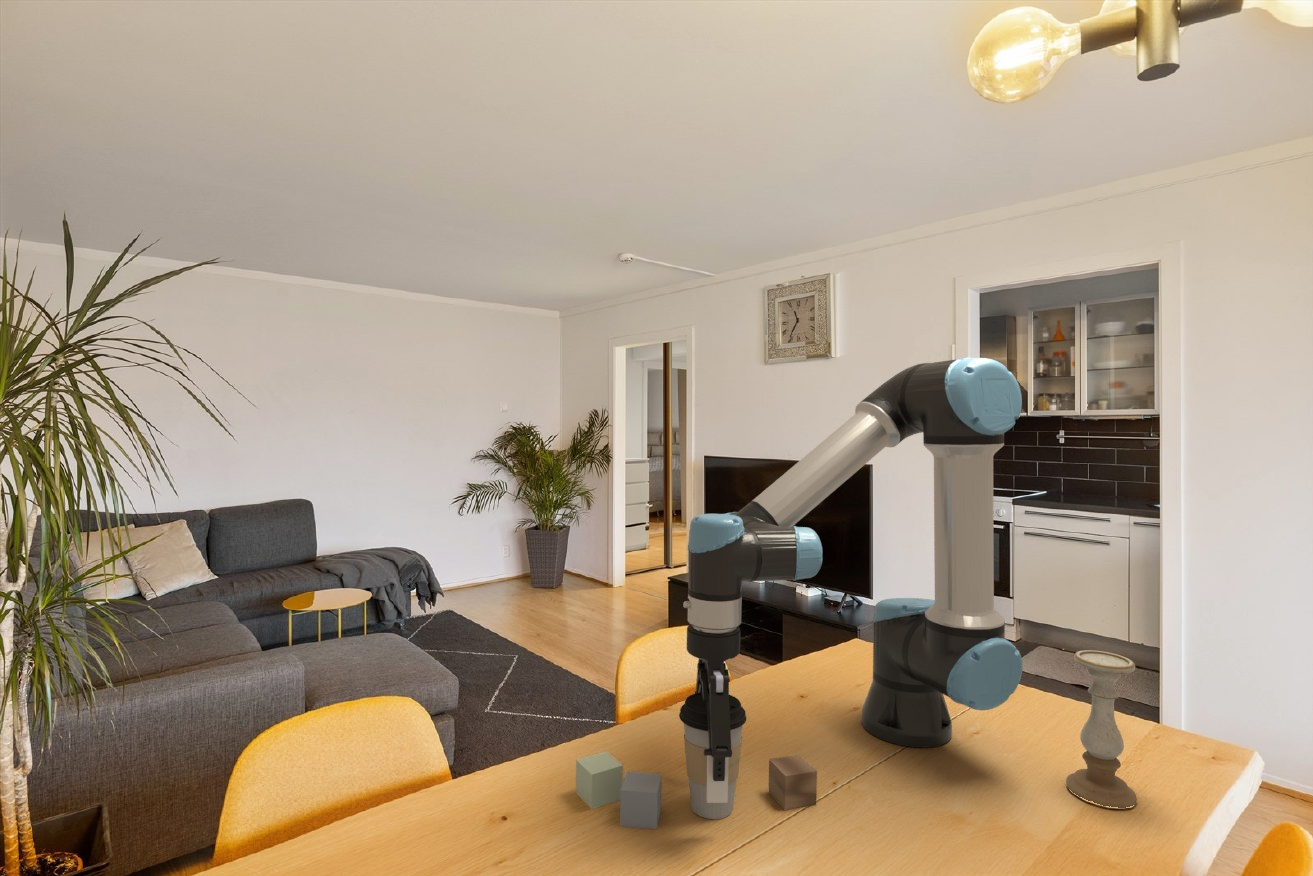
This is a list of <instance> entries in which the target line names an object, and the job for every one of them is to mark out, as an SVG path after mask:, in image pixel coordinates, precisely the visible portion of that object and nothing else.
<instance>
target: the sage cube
mask: <svg viewBox="0 0 1313 876" xmlns="http://www.w3.org/2000/svg"><path fill="white" fill-rule="evenodd" d="M623 773H624V764H622V763H621V762H620V761H619V760H618V759H617V758H615V757H614V756H613V755H612V754H611V753H609V752H608V751H607V750H605V751H601V752H599V753H595V754H592V755H588V756H584V757H581V758H577V759H575V793H576V795H577V796H578V798H580V800H582V801H583V802H584V803H585V804H586V805H587V807H589V808H590V809H591V810H593V809H597V808H599V807H604V806H606V805H609V804H612V803H616V802H619V801H620V790H621V787H622V784H623V781H624V777H623Z"/></svg>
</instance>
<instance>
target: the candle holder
mask: <svg viewBox="0 0 1313 876" xmlns="http://www.w3.org/2000/svg"><path fill="white" fill-rule="evenodd" d="M1073 660H1074V662H1075V663H1076V664H1078V665H1079V666H1081V667H1084V668H1086V672H1087V674H1088V675H1089V676H1090V677H1091V681H1092V683H1091V685H1090V686H1089V688H1088V689H1087V692H1088V694H1089V695H1091V709H1090V714H1089V716H1088V719H1087V720H1086V722H1085V724H1084V726H1083V727H1082V729H1081V731H1080V733H1079V735H1080V736H1079V737H1080V742H1081V745H1082V746H1083V747H1084V749H1085V750H1086V751H1084V752H1083V753H1082V754H1081V755H1082V759H1083V760H1084V761H1085V764H1086V767H1087V768H1081V769H1078V770H1076V771H1075V772H1072V773H1070V774H1068V775H1067V777H1066V779H1065V785H1067V786H1066V788H1067V787H1068V788H1069V789H1070V790H1071V791H1072V792H1073V793H1075V794H1076V795H1078V796H1079V797H1082V798H1084V799H1086V800H1088V801H1093V802H1094V803H1097V804H1100V805H1103V806H1109V807H1110V806H1111V807H1118V808H1126V807H1130V806H1133V805H1135V804H1137V802H1136V801H1138V800H1137V799H1138V797H1137V794H1136V792H1135V791H1134V790H1133V789H1132V788H1131V787H1130V786H1129V785H1128V783H1127V782H1126V781H1124V779H1122V778H1120V777H1119V776H1117V775H1116V772H1117V771H1118V769H1120V768H1121V765H1122V764H1121V761H1120V759H1118V757H1119V756H1121V754H1122V753H1123V751H1124V748H1125V743H1124V739H1123V736H1122V734H1121V731H1120V729H1119V728H1118V725H1117V722H1116V719H1115V718H1116V717H1115V700H1117V699H1118V698H1119V697H1120V696H1119V693H1118V692H1117V690H1116V689H1115V684H1116V682H1117V681H1118V680H1120V679H1121V677H1122V675H1123V674H1124V675H1125V674H1131V673H1134V672H1135V671H1136V664H1135V662H1134V661H1133V660H1132V659H1130V658H1128V657H1125V656H1122V655H1120V654H1116V653H1113V652H1108V651H1102V650H1094V649H1093V650H1091V649H1085V650H1078V651H1076V652H1075V653H1074V655H1073ZM1068 788H1067V789H1068ZM1135 806H1136V805H1135Z"/></svg>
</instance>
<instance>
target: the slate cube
mask: <svg viewBox="0 0 1313 876" xmlns="http://www.w3.org/2000/svg"><path fill="white" fill-rule="evenodd" d="M662 776H663V774H662V773H657V772H656V773H653V772H642V771H641V772H640V771H626V773H625V775H624V777H623V784H622V787H621V790H620V800H619V801H620V802H619V805H620V806H619V826H620V827H626V828H627V827H628V828H638V829H647V830H648V829H649V830H650V829H651V830H658V825H659V821H660V817H661V812H662V797H663V795H662V794H663V793H662V791H663V790H662V787H663V785H662V782H663V781H662V780H663V779H662V778H663V777H662Z"/></svg>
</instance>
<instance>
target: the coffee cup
mask: <svg viewBox="0 0 1313 876" xmlns="http://www.w3.org/2000/svg"><path fill="white" fill-rule="evenodd" d="M729 709H730V731H731V750H732V756H731V757H729V763H728V803H707V800H706V794H707V756H704V750H705V749H709V736H708V719H707V704H706V703H705V702H704V701H703V696H702V692H700V693H695V692H694V693H692V694H690V695H689V696H688V697H686V698H685V701H684V704H683V705H682V706H681V707H680V710H679V714H678V717H679V719H680V721H681V722H682V723H683V727H684V728H683V729H684V734H683V741H684V755H685V762H686V763H685V764H686V775H687V777H688V786H689V794H690V795H689V797H690V799H689V800H690V808H691V810H692V812H693V813H694V814H695V815H697V816H699V817H701V818H704V819H708V820H721V819H724V818H726V817H729V816H730V814H732V812H733V810H734V804H735V794H736V786H737V779H738V777H739V769H740V760H741V751H742V744H743V736H742V733H743V726H744V724H746V721H747V715H746V710H745V708H744V707H742V703H741V701H740V699H738V698H737V697H735V696H734V695H731V694H729Z"/></svg>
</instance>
